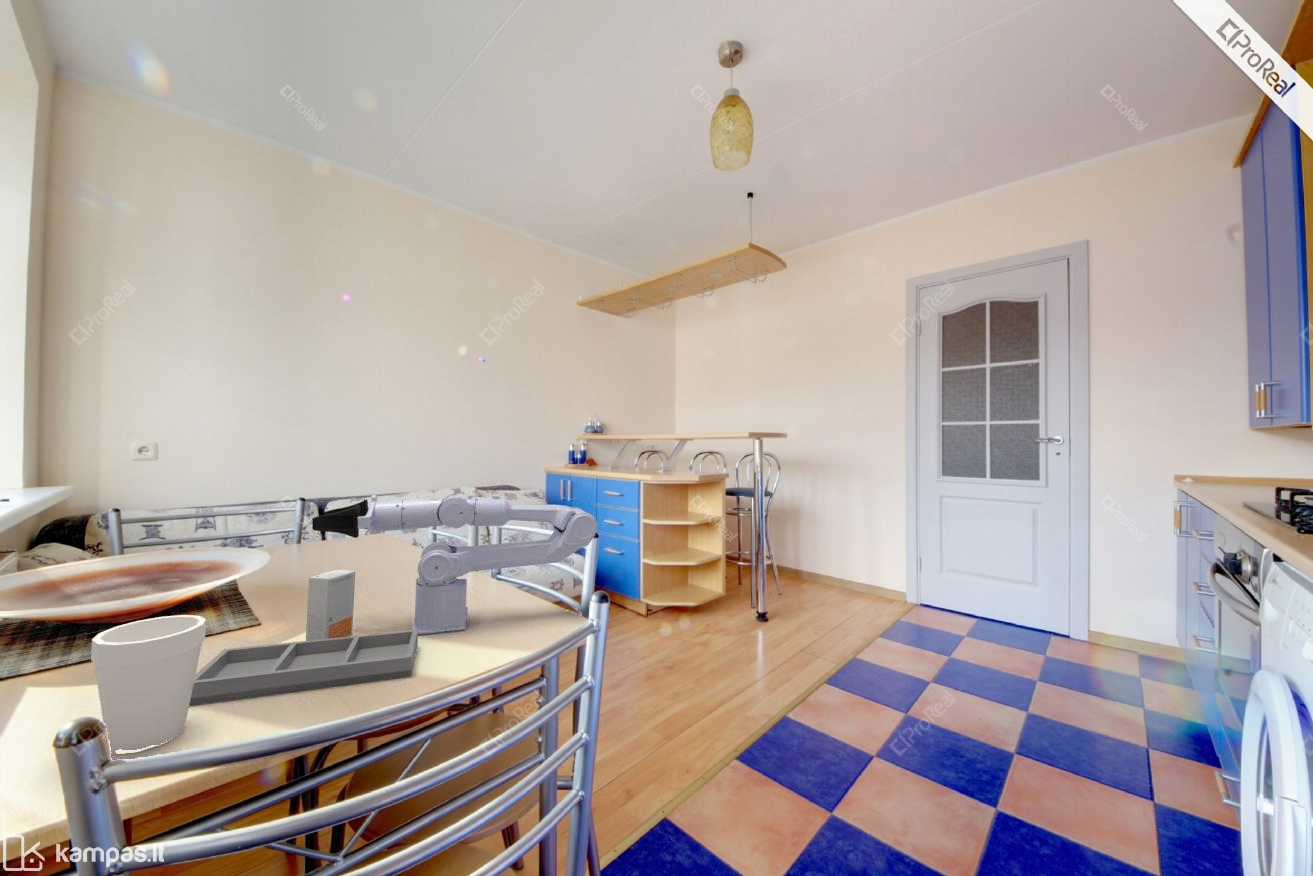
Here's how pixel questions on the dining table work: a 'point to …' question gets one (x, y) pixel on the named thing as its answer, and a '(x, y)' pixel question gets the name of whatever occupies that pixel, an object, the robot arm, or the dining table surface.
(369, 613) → the dining table surface
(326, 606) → the skincare box
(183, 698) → the foam cup
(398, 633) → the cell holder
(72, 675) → the dining table surface
